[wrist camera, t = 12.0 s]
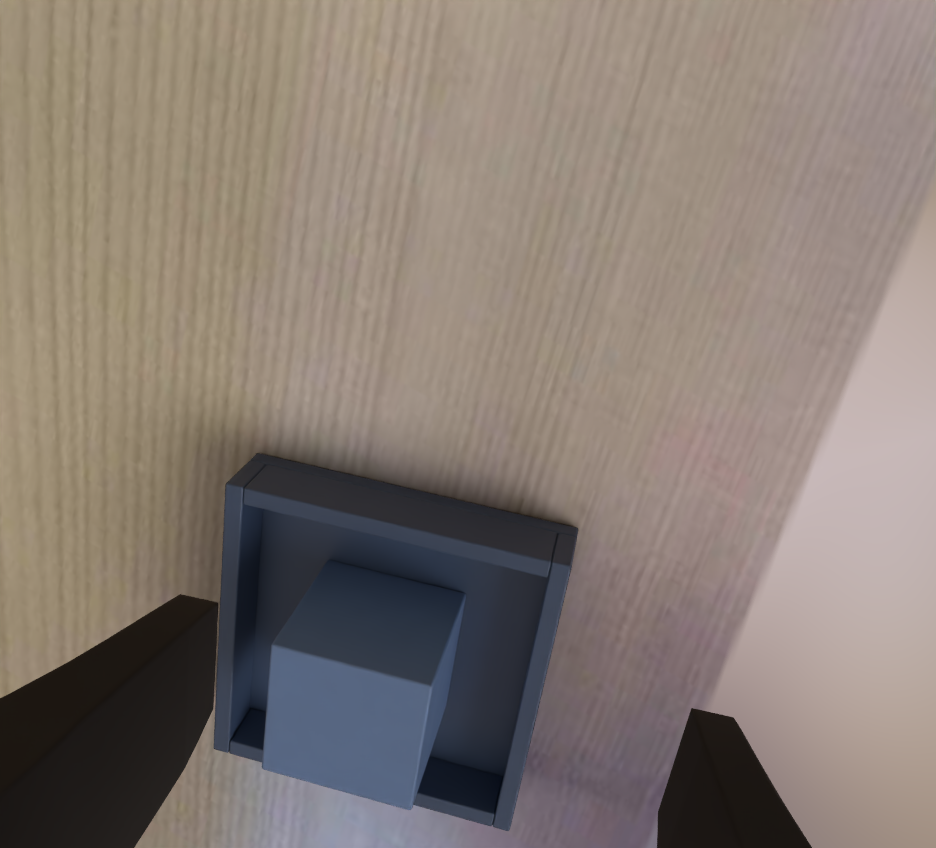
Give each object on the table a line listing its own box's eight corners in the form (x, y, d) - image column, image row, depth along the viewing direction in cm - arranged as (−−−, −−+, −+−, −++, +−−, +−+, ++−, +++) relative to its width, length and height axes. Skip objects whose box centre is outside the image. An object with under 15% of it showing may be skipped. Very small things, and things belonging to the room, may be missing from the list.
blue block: (466, 593, 24) (432, 687, 21) (446, 706, 26) (411, 811, 22) (327, 558, 25) (270, 644, 21) (316, 671, 26) (260, 769, 23)
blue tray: (578, 527, 23) (571, 567, 22) (519, 780, 27) (508, 832, 25) (256, 451, 25) (224, 483, 23) (241, 704, 28) (212, 749, 26)
